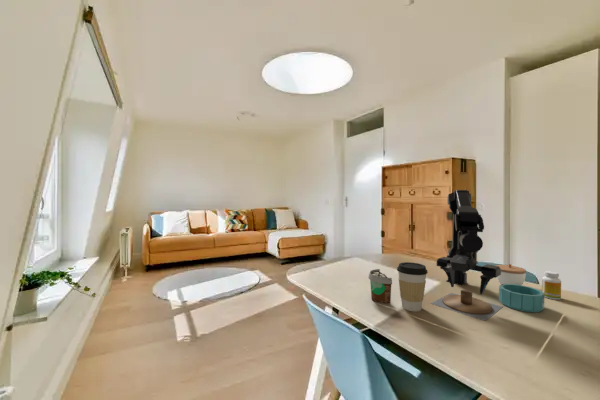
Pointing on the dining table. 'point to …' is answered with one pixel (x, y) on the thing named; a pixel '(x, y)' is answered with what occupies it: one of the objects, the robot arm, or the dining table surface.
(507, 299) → the bowl
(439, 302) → the mat
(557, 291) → the supplement bottle
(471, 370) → the dining table surface
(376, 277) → the food container
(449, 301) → the lid
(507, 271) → the lidded jar
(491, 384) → the dining table surface
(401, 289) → the coffee cup
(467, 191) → the robot arm
